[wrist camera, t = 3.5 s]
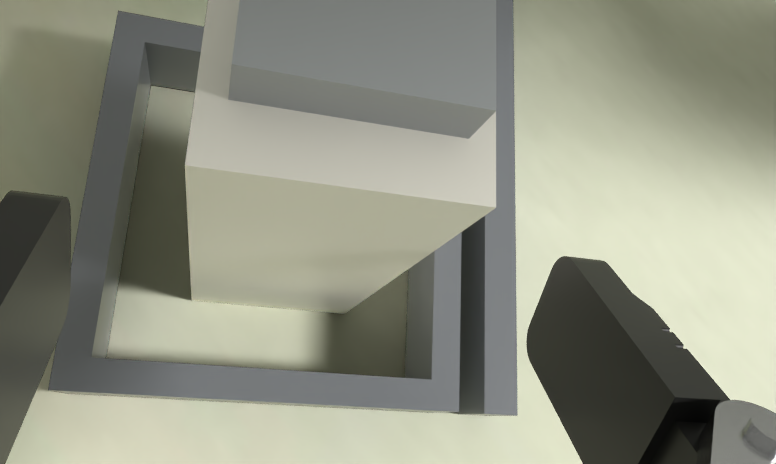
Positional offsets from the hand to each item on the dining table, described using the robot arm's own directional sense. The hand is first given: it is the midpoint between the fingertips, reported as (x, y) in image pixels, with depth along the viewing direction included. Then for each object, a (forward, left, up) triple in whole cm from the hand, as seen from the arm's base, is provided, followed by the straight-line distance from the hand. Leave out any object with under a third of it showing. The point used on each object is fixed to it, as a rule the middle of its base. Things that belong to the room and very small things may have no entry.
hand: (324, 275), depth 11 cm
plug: (-2, -2, -9) cm, 10 cm away
